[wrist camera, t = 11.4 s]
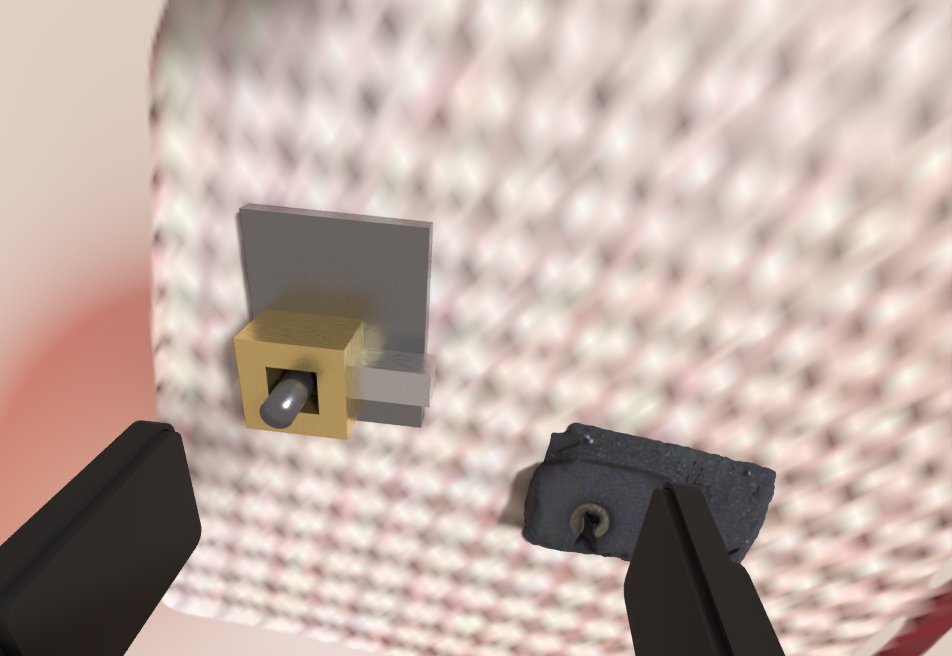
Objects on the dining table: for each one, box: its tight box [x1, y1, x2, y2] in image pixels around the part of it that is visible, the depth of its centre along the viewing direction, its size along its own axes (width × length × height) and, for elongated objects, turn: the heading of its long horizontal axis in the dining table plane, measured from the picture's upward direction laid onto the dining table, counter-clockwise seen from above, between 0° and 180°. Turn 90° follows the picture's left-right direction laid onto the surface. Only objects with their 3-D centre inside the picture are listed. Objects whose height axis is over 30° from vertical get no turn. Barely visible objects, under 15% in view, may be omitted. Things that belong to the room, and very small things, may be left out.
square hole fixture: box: [233, 203, 437, 440], centre depth 40 cm, size 18×15×6 cm
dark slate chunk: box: [523, 423, 776, 563], centre depth 48 cm, size 15×22×5 cm
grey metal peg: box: [259, 369, 317, 429], centre depth 40 cm, size 2×2×8 cm
